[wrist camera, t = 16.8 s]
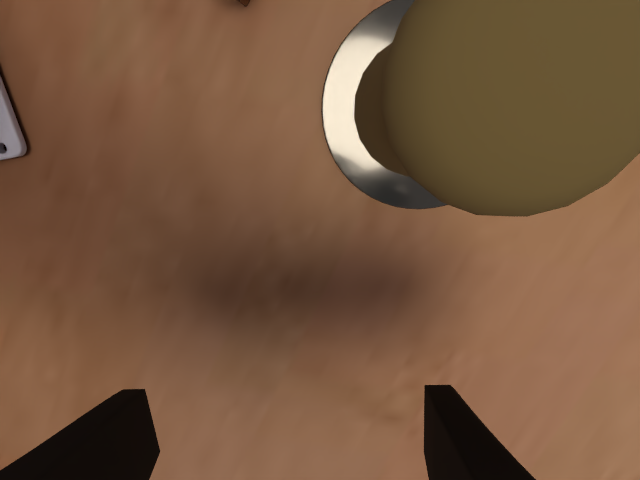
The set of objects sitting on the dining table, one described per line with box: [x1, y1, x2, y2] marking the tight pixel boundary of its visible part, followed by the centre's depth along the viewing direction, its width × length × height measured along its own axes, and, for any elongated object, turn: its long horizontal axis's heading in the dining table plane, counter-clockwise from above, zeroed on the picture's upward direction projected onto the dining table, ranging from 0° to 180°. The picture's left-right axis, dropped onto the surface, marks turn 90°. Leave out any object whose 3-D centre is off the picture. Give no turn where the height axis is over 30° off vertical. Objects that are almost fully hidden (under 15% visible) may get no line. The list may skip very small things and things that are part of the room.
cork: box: [354, 0, 640, 216], centre depth 11 cm, size 6×6×11 cm
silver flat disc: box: [322, 0, 448, 209], centre depth 17 cm, size 9×9×1 cm
